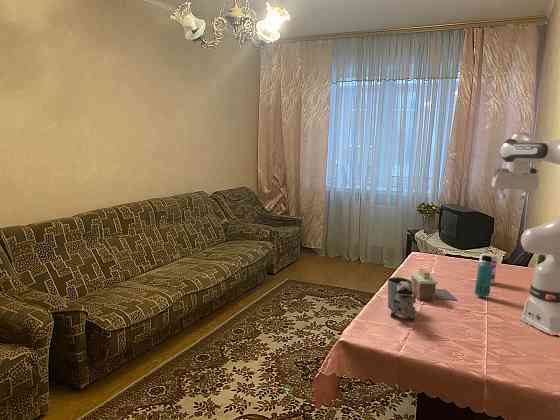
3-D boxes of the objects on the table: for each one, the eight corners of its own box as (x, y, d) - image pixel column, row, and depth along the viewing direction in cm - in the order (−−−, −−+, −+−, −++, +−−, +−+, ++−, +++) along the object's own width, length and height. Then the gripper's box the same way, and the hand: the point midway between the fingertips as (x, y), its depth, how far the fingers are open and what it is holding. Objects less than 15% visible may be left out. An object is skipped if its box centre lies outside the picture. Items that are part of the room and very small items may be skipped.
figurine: (386, 322, 172) (390, 285, 170) (393, 312, 182) (397, 277, 180) (410, 327, 168) (414, 290, 166) (416, 317, 178) (420, 282, 176)
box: (434, 300, 199) (435, 283, 197) (418, 300, 198) (420, 283, 197) (424, 291, 210) (426, 275, 209) (410, 291, 210) (411, 275, 209)
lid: (437, 284, 197) (438, 275, 196) (419, 283, 197) (420, 274, 196) (427, 275, 210) (428, 266, 209) (410, 274, 209) (411, 266, 209)
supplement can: (496, 285, 226) (500, 257, 224) (480, 284, 226) (484, 256, 224) (489, 280, 234) (493, 253, 232) (473, 279, 234) (477, 252, 232)
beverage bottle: (473, 297, 206) (478, 256, 203) (474, 293, 212) (479, 253, 209) (488, 300, 203) (494, 258, 200) (489, 296, 209) (494, 255, 206)
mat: (457, 300, 201) (457, 299, 201) (435, 299, 201) (435, 298, 201) (445, 290, 215) (445, 289, 215) (425, 289, 214) (425, 288, 214)
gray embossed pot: (410, 313, 182) (413, 285, 180) (385, 310, 184) (388, 282, 182) (408, 304, 192) (411, 278, 190) (384, 302, 194) (387, 275, 192)
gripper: (497, 168, 199) (493, 198, 201) (542, 170, 199) (538, 200, 202) (491, 167, 205) (487, 196, 207) (534, 169, 206) (530, 199, 208)
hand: (512, 198), depth 205 cm, fingers open, 8 cm apart
